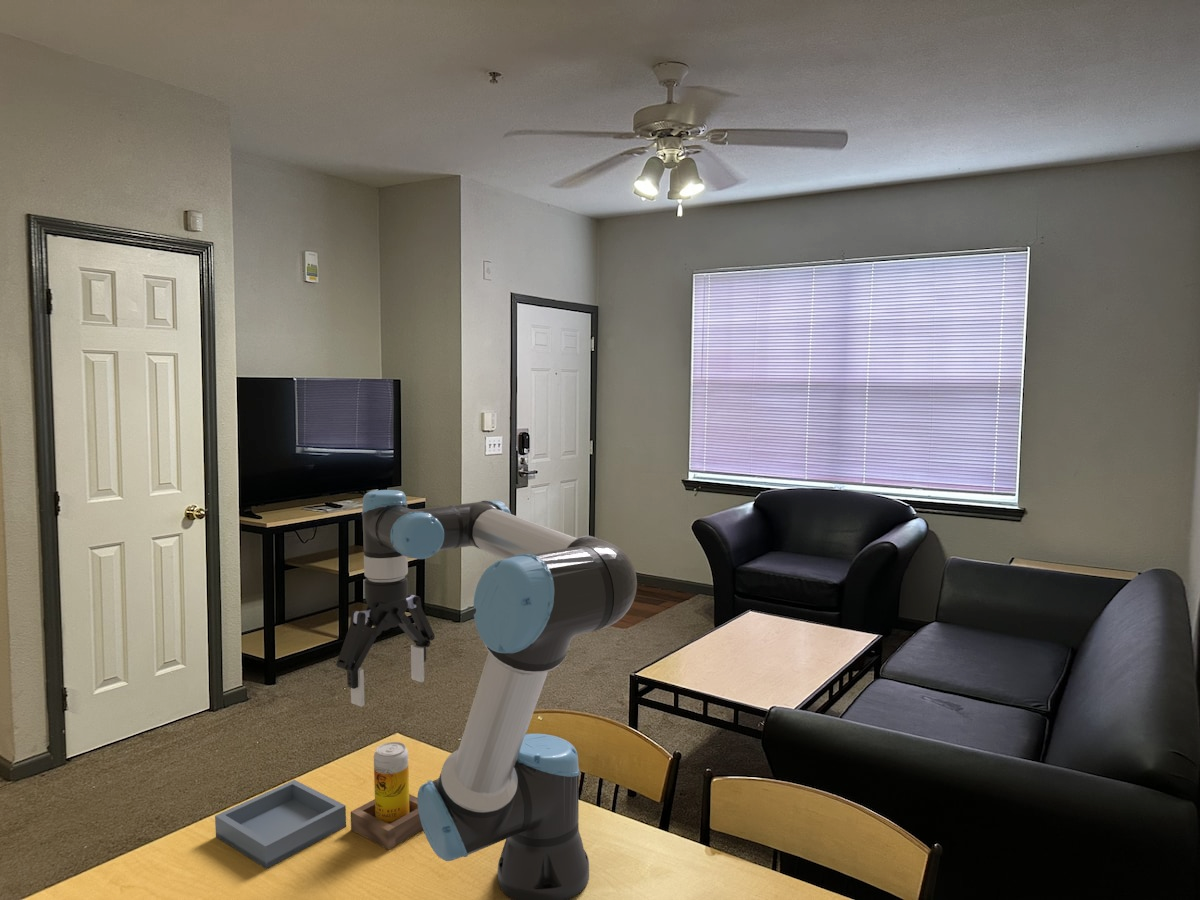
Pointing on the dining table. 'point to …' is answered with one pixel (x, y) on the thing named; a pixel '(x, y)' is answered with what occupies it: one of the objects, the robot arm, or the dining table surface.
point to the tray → (280, 823)
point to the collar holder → (386, 824)
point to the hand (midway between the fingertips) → (388, 692)
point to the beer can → (391, 782)
